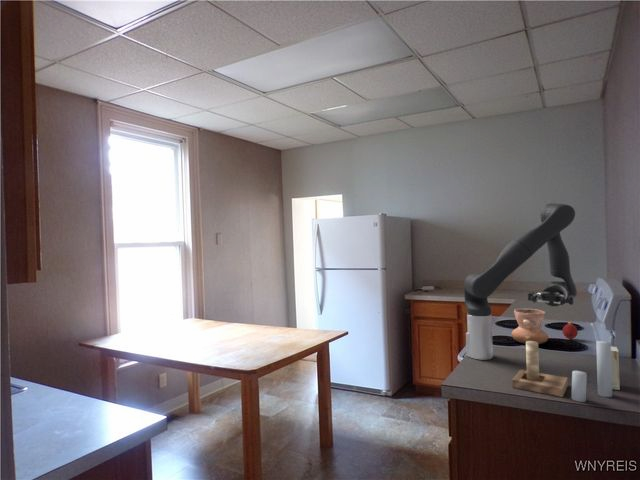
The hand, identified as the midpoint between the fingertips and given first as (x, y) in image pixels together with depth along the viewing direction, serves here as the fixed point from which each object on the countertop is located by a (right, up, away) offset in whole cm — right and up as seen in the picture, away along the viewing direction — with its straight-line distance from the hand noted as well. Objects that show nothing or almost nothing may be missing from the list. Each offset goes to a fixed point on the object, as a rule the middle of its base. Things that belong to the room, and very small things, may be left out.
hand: (547, 300), depth 140 cm
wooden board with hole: (-8, -26, -10) cm, 29 cm away
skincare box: (+13, -26, -12) cm, 31 cm away
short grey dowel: (-3, -26, -21) cm, 34 cm away
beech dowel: (-10, -26, -9) cm, 29 cm away
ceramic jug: (+14, -25, +39) cm, 49 cm away
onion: (+33, -24, +40) cm, 57 cm away
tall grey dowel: (+7, -26, -19) cm, 32 cm away
